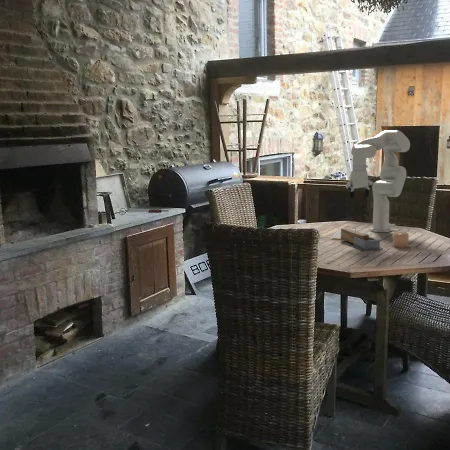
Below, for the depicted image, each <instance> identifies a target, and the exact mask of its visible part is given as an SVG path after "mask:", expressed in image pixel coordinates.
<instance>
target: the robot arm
mask: <svg viewBox="0 0 450 450" xmlns="http://www.w3.org/2000/svg"><path fill="white" fill-rule="evenodd" d="M410 147H411V142H410V139H409V138H408V137H407V136H406V135H405V134H404V133H403V132H402V131H400V130H399V129H398V130H397V129H395V130H394V129H393V130H392V129H390V130H388V129H387V130H382V131H380V132H379V133H377V134H376V135H375V136H374V137H370V138H366V139H364V140H360V141H358V142H357V143H355V144H353V146H352V147H351V151H350V154H351V155H352V156H351V157H352V170H351V172H350V176H349V182H347V183H345V185H344V186H345V187H346V189H347V191H349V199H354V198H355V197H354V196H355V193H354V191H355V189H360V188H364V197H366V198H368V197H369V195H370V190H371V188H372V195H373V208H372V209H373V210H372V227H370V229H369V230H370V231H371V232H374V233H388V232H391V231H392V228H395V227H396V223H392V224H391V223H389V222H390V221H389V220H390V200H389V199H388V197H390V198H391V197H392V198H393V197H394V198H396V197H397V198H398V197H399V196H400V195H401V193H402V190H403V188H404V185H405V183H406V182H405V181H406V179H407V169H406V168H405V167H404V166H400V165H398V164H399V159H398V156H397V155H396V154H395V153H407V152H408V151H409V150H410ZM380 150H382V151H383V155H384V156H383V157H384V159H383V160H384V161H383V163H382V165H381V166H382V167H381V169H380V172H379V178H380V180H376V181H375V182H373V181H372V180H370V179H369V175H368V170H367V168H369V166H368V165H367V159H372V158H374V157H375V156H376V154H377V151H380Z"/></svg>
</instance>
